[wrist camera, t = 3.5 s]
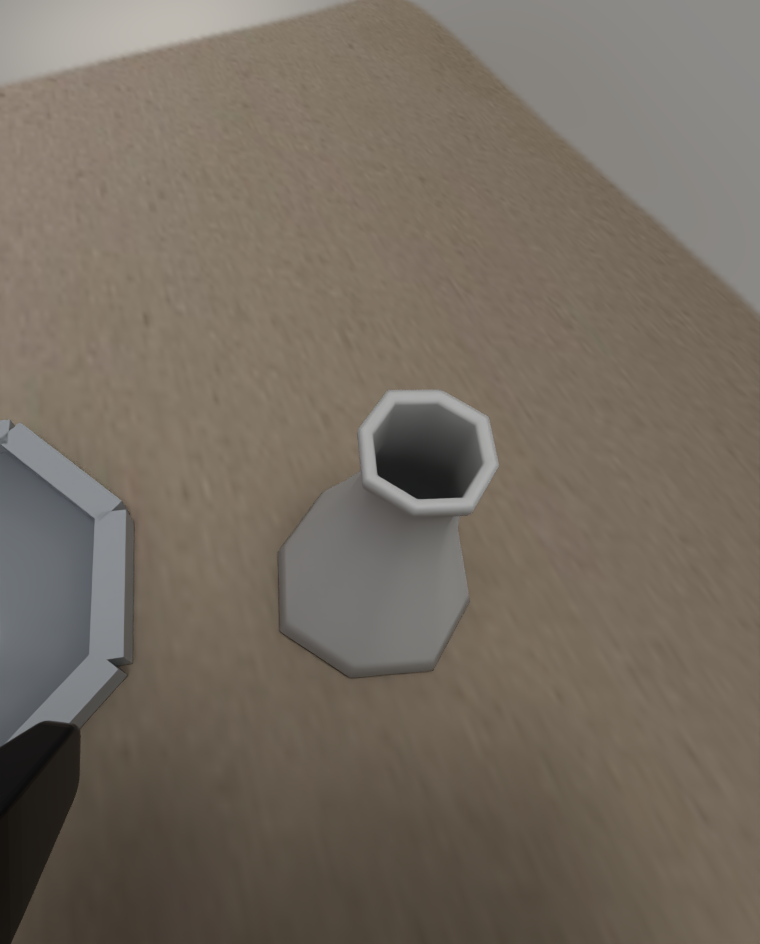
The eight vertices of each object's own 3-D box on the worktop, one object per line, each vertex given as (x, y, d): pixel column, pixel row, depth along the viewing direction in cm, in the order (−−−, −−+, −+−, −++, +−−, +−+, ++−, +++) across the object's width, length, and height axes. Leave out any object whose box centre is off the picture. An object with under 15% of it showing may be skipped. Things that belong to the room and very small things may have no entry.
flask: (305, 470, 23) (313, 287, 15) (480, 516, 23) (595, 361, 15) (246, 652, 20) (210, 557, 11) (452, 705, 20) (578, 652, 11)
